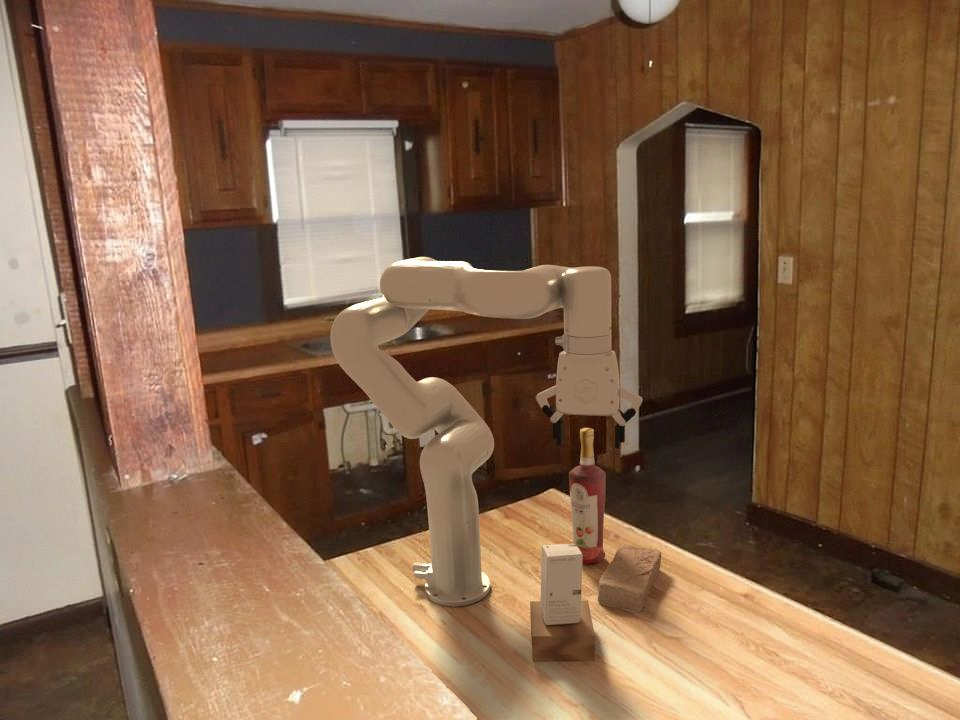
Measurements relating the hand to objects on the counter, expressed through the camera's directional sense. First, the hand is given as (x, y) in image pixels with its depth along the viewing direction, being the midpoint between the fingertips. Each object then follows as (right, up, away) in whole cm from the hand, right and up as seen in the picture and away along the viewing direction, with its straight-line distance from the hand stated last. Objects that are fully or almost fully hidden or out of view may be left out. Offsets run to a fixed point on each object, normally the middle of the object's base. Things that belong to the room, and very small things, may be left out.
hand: (588, 444), depth 116 cm
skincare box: (-5, -29, 0) cm, 29 cm away
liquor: (+4, -27, +27) cm, 38 cm away
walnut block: (-4, -34, +1) cm, 34 cm away
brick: (+11, -29, +17) cm, 36 cm away
